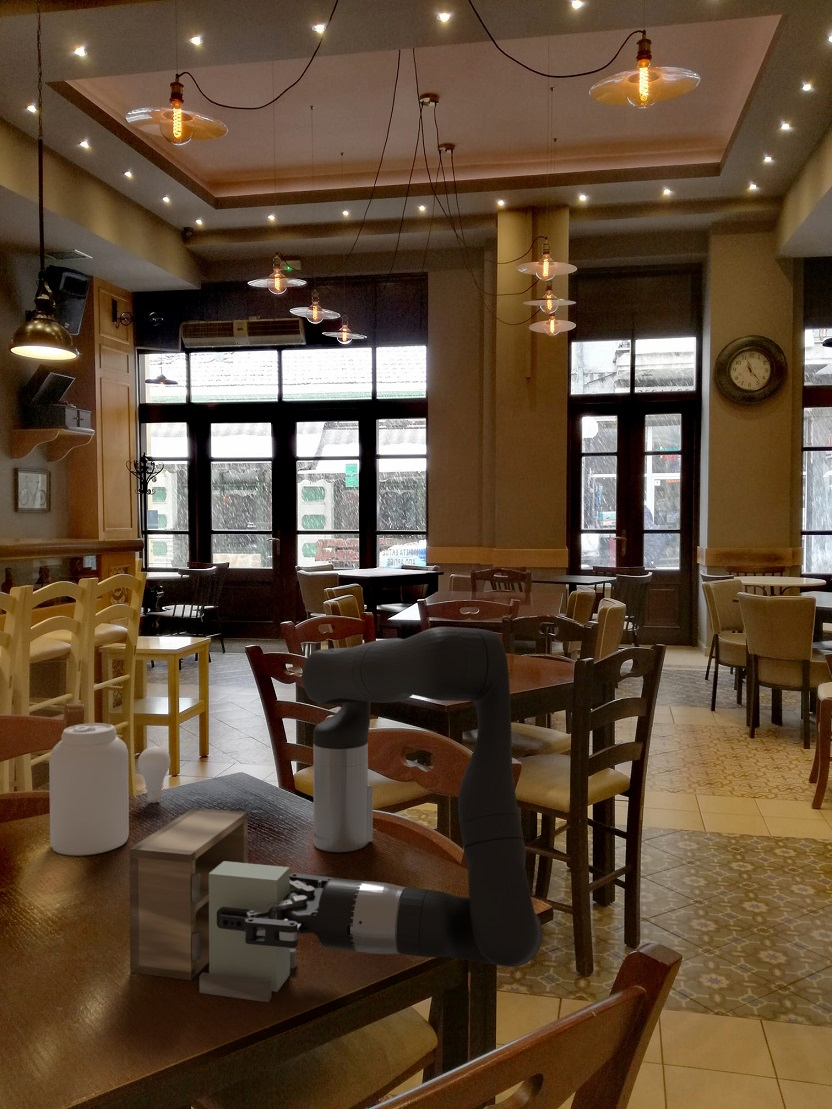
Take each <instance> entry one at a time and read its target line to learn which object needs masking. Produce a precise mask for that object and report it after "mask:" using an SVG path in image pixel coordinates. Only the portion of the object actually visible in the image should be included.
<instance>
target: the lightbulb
mask: <svg viewBox="0 0 832 1109" xmlns="http://www.w3.org/2000/svg"><path fill="white" fill-rule="evenodd" d="M137 767H138V771H139V772H140V774H141V775H142V777H143V780H144V783H145V790H146V794H147V795H146V796H147V800H148V801H149V802H151V803H152V804H156V803H158V802H159V801H160V800H161V799H162V789H163V787H164V781H165V780H164V779H165V777H166V774H167V773H168V771H169V770H170V767H171V756H170V754H169V753H168V752H167V750H166V749H164V748H163V747H160V746H150V747H147V748H146V749H144V750H143V751H142V752H141V753H140V755H139V756H138V760H137Z"/></svg>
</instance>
